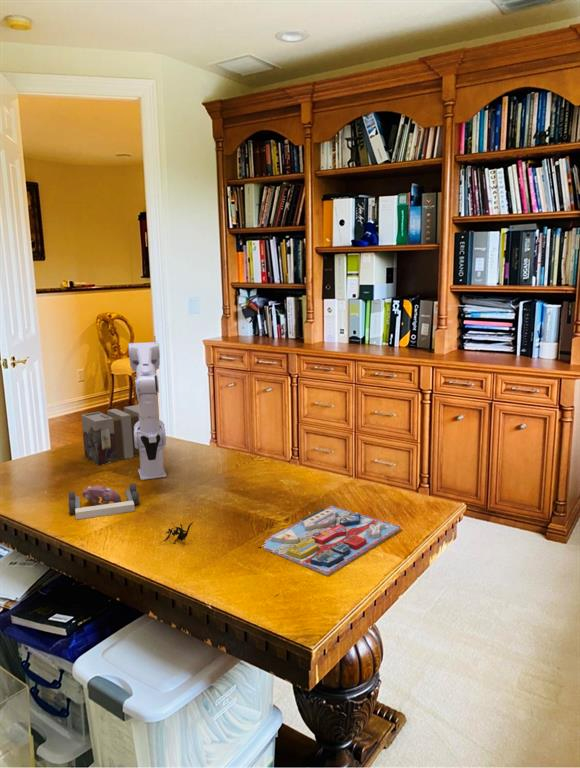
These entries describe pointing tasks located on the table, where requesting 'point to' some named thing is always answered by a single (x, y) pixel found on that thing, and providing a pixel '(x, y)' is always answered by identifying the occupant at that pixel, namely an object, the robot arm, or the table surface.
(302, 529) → the puzzle board
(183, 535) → the creature
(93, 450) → the bookend
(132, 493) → the chassis
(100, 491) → the pink toy figurine
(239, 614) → the table surface
